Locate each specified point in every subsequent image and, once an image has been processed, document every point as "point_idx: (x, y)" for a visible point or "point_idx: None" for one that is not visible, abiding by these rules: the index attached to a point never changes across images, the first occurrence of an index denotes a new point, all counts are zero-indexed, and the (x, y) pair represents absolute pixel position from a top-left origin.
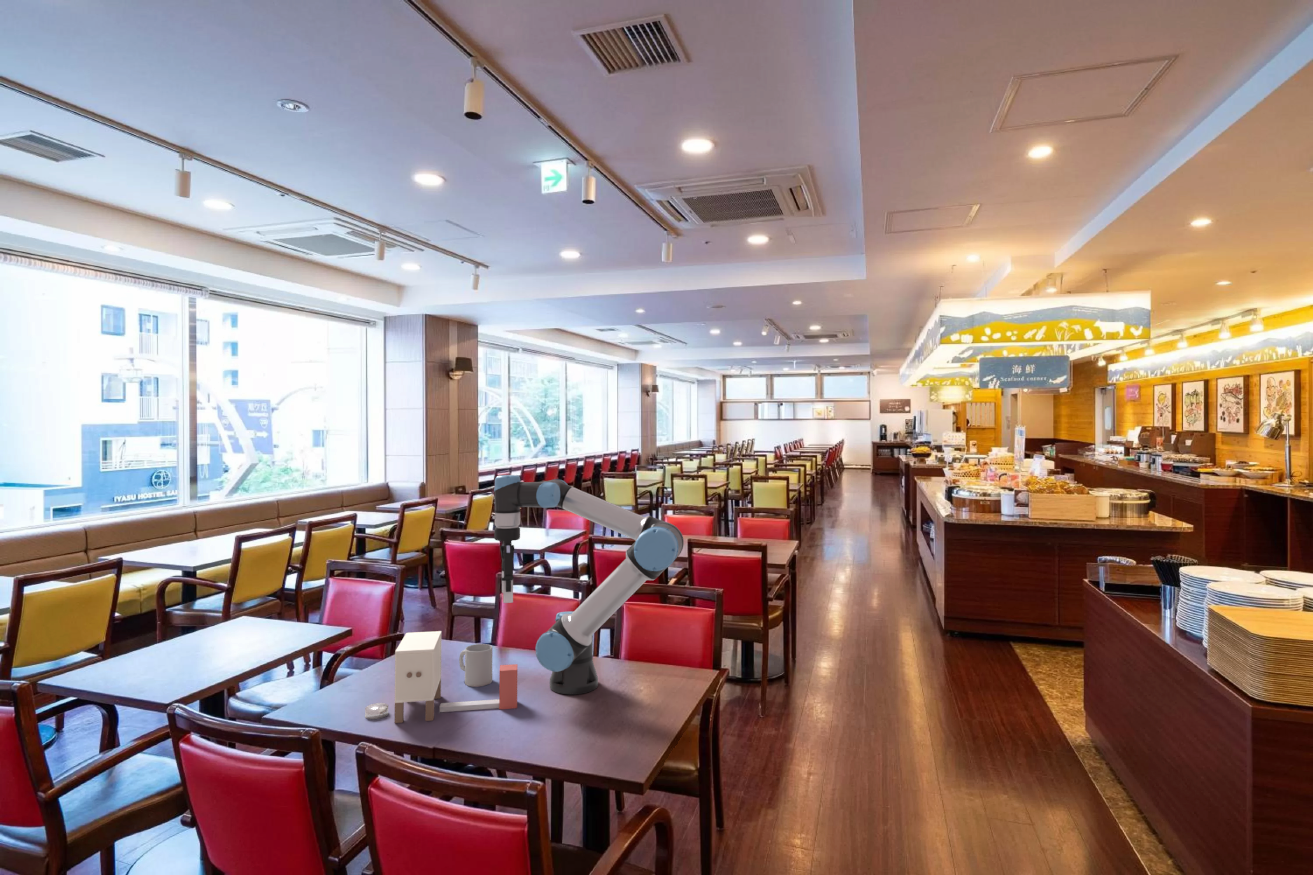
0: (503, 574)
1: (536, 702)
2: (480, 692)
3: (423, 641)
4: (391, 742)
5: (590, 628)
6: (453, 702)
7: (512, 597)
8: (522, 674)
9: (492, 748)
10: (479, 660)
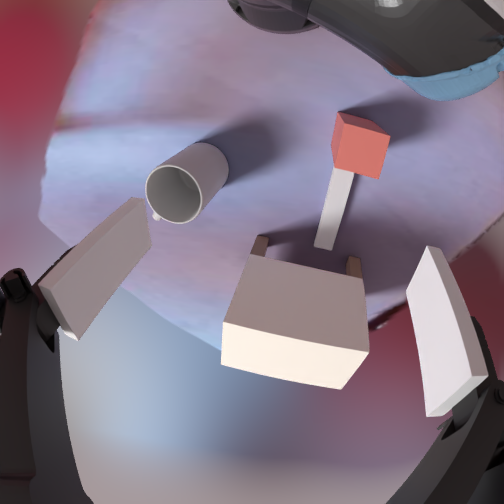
0: (85, 317)
1: (357, 77)
2: (261, 170)
3: (299, 358)
4: (400, 305)
5: None
6: (318, 228)
7: (449, 271)
8: (180, 81)
9: (490, 204)
10: (210, 188)
